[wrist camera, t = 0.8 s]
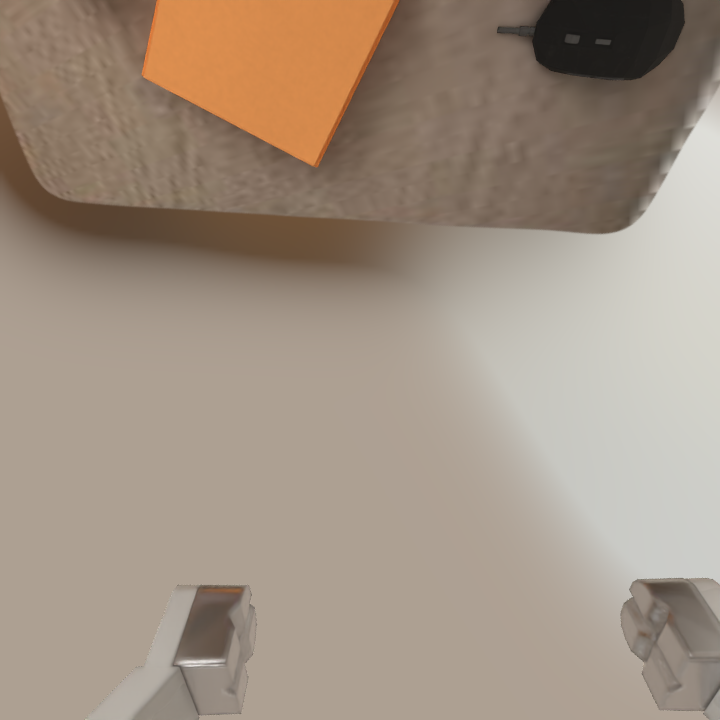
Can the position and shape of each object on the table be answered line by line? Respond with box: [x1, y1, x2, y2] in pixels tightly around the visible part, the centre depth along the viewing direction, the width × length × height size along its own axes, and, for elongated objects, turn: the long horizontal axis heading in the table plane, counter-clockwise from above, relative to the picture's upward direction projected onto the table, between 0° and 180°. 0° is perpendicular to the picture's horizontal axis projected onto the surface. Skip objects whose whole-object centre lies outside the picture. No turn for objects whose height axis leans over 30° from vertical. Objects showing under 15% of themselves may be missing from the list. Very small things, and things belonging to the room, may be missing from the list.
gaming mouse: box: [497, 0, 685, 80], centre depth 38 cm, size 6×15×4 cm, turn 89°
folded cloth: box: [142, 0, 400, 167], centre depth 38 cm, size 16×16×4 cm
